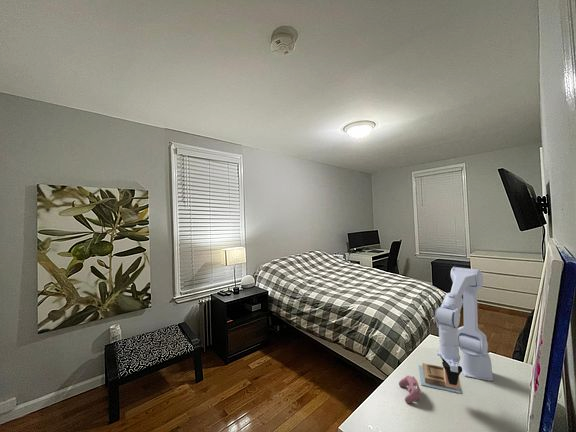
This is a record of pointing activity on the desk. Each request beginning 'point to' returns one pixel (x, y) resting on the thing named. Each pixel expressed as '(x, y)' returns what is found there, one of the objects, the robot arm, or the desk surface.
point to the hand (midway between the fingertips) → (451, 379)
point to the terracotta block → (448, 381)
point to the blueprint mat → (435, 385)
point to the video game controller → (411, 388)
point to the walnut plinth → (434, 375)
